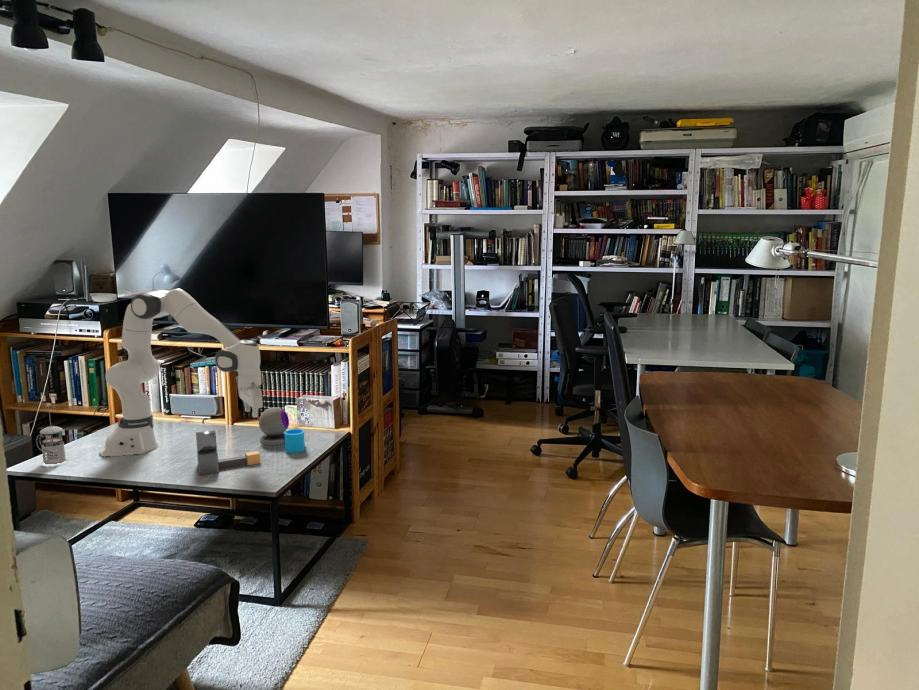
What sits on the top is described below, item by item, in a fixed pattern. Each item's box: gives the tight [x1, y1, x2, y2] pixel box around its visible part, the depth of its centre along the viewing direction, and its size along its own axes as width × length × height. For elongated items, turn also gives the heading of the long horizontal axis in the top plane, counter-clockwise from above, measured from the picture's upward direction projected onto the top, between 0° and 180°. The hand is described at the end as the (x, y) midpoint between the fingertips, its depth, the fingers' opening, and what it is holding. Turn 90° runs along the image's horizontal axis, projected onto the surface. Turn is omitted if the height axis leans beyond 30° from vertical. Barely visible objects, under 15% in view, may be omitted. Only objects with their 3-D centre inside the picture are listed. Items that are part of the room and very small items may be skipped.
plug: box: [218, 450, 261, 470], centre depth 275 cm, size 16×4×4 cm, turn 119°
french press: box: [35, 402, 68, 464], centre depth 276 cm, size 10×12×25 cm
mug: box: [284, 428, 306, 454], centre depth 294 cm, size 12×8×8 cm
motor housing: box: [195, 429, 220, 476], centre depth 270 cm, size 7×14×15 cm, turn 23°
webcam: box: [258, 406, 290, 446], centre depth 305 cm, size 13×13×15 cm
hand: (251, 414), depth 278 cm, fingers open, 8 cm apart
